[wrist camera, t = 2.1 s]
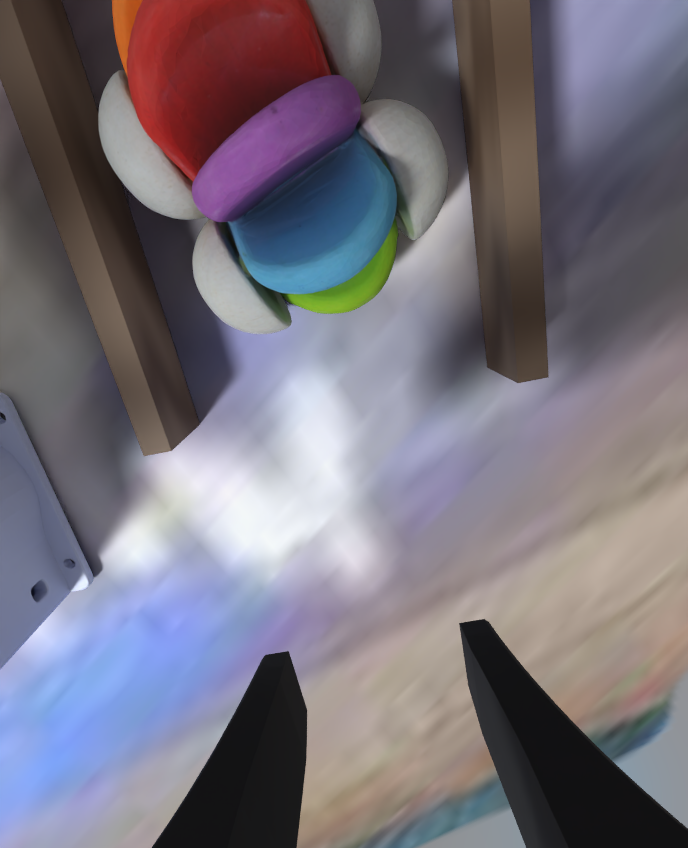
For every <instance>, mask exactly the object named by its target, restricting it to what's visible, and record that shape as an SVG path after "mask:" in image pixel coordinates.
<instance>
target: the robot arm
mask: <svg viewBox="0 0 688 848" xmlns="http://www.w3.org/2000/svg"><path fill="white" fill-rule="evenodd" d="M0 412H1V413H3V414H4V416H5V417H6V421H5V420H3V419H2V417H1V415H0V669H1V668H2V667H3V666H4V665H5V664H6V663H7V662H8V660H9V659H10V658H11V657H12V656H13V655H14V654H15V653H16V652H17V650H18V649H19V648H20V647H21V646H22V645H23V644H24V643H25V642H26V641H27V639H28V638H29V637H30V636H31V635H32V634H33V633H34V632H35V631H36V630H37V628H38V627H39V626H40V625H41V624H42V623H43V622H44V621H45V620H46V618H47V617H48V616H49V615H50V614H51V613H52V612H53V611H54V610H55V609H56V607H57V606H58V605H59V604H60V603H61V602H62V601H63V600H64V599H65V598H66V596H67V595H68V594H69V593H70V592H74V591H79V590H84V589H87V588H88V587H89V585H90V584H91V583H92V582H93V579H94V577H93V574H92V572H91V570H90V568H89V565H88V563H87V561H86V559H85V557H84V555H83V553H82V550H81V548H80V546H79V544H78V542H77V540H76V538H75V535H74V533H73V531H72V529H71V527H70V525H69V523H68V520H67V518H66V516H65V514H64V512H63V510H62V508H61V505H60V503H59V501H58V499H57V497H56V495H55V493H54V490H53V488H52V486H51V484H50V482H49V480H48V478H47V475H46V473H45V471H44V469H43V467H42V465H41V463H40V460H39V458H38V456H37V454H36V452H35V450H34V448H33V445H32V443H31V441H30V439H29V437H28V435H27V433H26V430H25V428H24V426H23V424H22V422H21V420H20V417H19V415H18V413H17V411H16V409H15V407H14V405H13V402H12V401H11V399H10V398H9V397H8V396H7V395H6V394H4V393H1V392H0ZM70 559H72V560H73V561H74V562H75V563H73V562H71V560H70ZM459 624H460V631H461V638H462V644H463V651H464V658H465V665H466V672H467V679H468V686H469V689H470V693H471V696H472V699H473V703H474V706H475V710H476V713H477V717H478V720H479V724H480V727H481V730H482V734H483V736H484V739H485V741H486V744H487V747H488V749H489V752H490V755H491V757H492V760H493V762H494V765H495V768H496V770H497V773H498V775H499V778H500V781H501V783H502V786H503V788H504V791H505V794H506V796H507V799H508V801H509V804H510V807H511V809H512V812H513V814H514V817H515V819H516V822H517V825H518V827H519V830H520V832H521V835H522V838H523V840H524V843H525V845H526V848H688V828H686V827H685V826H684V825H683V824H682V823H680V822H679V821H678V820H677V819H676V818H674V817H673V816H672V815H671V814H670V813H669V812H668V811H667V810H665V809H664V808H663V807H662V806H661V805H660V804H659V803H657V802H656V801H655V800H654V799H653V798H652V797H651V796H650V795H648V794H647V793H646V792H645V791H644V790H643V789H642V788H640V787H639V786H638V785H637V784H636V783H635V782H634V781H633V780H632V779H631V778H630V777H628V775H626V774H625V773H624V772H623V771H622V770H621V769H620V768H619V767H618V766H617V765H616V764H615V763H614V762H613V761H612V760H610V759H609V758H608V757H607V756H606V755H605V754H604V753H603V752H602V751H601V750H600V749H599V748H598V747H597V746H596V745H595V744H594V743H593V742H592V741H591V740H590V739H589V738H588V737H587V736H586V735H585V734H584V733H583V732H582V731H581V730H580V729H579V728H578V727H577V726H576V725H575V724H574V723H573V722H572V721H571V720H570V719H569V717H568V716H567V715H566V714H565V713H564V712H563V711H562V710H561V709H560V708H559V707H558V706H557V705H556V704H555V703H554V701H553V700H552V699H551V698H550V697H549V696H548V695H547V694H546V692H545V691H544V690H543V689H542V688H541V687H540V686H539V685H538V684H537V682H536V681H535V680H534V679H533V678H532V677H531V676H530V674H529V673H528V672H527V671H526V670H525V669H524V667H523V666H522V665H521V664H520V662H519V661H518V660H517V659H516V658H515V656H514V655H513V654H512V653H511V651H510V650H509V649H508V648H507V646H506V645H505V644H504V642H503V641H502V640H501V638H500V637H499V636H498V634H497V633H496V632H495V630H494V629H493V627H492V626H491V624H490V623H489V622H488V621H486V620H485V619H482V620H476V621H470V622H464V623H459ZM306 747H307V708H306V705H305V702H304V699H303V696H302V692H301V689H300V686H299V683H298V680H297V676H296V673H295V670H294V667H293V664H292V660H291V657H290V654H289V651H287V652H281V653H275V654H269V655H265V656H264V658H263V659H262V661H261V663H260V665H259V667H258V669H257V671H256V673H255V675H254V677H253V679H252V681H251V683H250V685H249V686H248V688H247V690H246V692H245V694H244V696H243V698H242V700H241V702H240V704H239V706H238V708H237V709H236V711H235V713H234V715H233V717H232V719H231V721H230V722H229V724H228V726H227V728H226V730H225V731H224V733H223V735H222V737H221V739H220V740H219V742H218V744H217V746H216V747H215V749H214V751H213V753H212V754H211V756H210V758H209V759H208V761H207V763H206V764H205V766H204V768H203V769H202V771H201V773H200V774H199V776H198V778H197V779H196V781H195V782H194V784H193V786H192V787H191V789H190V791H189V792H188V794H187V796H186V797H185V799H184V800H183V802H182V803H181V805H180V806H179V808H178V810H177V811H176V813H175V814H174V816H173V817H172V819H171V820H170V822H169V823H168V825H167V826H166V828H165V829H164V831H163V832H162V833H161V835H160V836H159V838H158V839H157V841H156V842H155V844H154V845H153V847H152V848H296V846H297V838H298V829H299V820H300V811H301V803H302V794H303V784H304V775H305V766H306Z"/></svg>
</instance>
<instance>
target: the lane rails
mask: <svg viewBox="0 0 688 848" xmlns="http://www.w3.org/2000/svg"><path fill="white" fill-rule="evenodd" d="M452 3H453V13H454V24H455V34H456V45H457V55H458V66H459V76H460V87H461V97H462V108H463V118H464V128H465V139H466V149H467V160H468V170H469V181H470V191H471V202H472V212H473V223H474V233H475V244H476V254H477V265H478V275H479V286H480V296H481V307H482V317H483V328H484V338H485V349H486V359H487V367H488V368H490V369H492V370H493V371H495V372H497V373H499V374H501V375H503V376H505V377H507V378H509V379H511V380H513V381H515V382H517V383H521V382H526V381H531V380H536V379H542V378H547V377H548V358H547V338H546V318H545V298H544V278H543V257H542V237H541V217H540V197H539V177H538V157H537V136H536V116H535V96H534V76H533V56H532V35H531V15H530V0H452ZM0 79H1V82H2V84H3V87H4V89H5V92H6V95H7V97H8V100H9V103H10V105H11V108H12V110H13V113H14V116H15V118H16V121H17V124H18V126H19V129H20V131H21V134H22V137H23V139H24V142H25V145H26V147H27V150H28V153H29V155H30V158H31V160H32V163H33V166H34V168H35V171H36V174H37V176H38V179H39V181H40V184H41V187H42V189H43V192H44V195H45V197H46V200H47V202H48V205H49V208H50V210H51V213H52V216H53V218H54V221H55V224H56V226H57V229H58V231H59V234H60V237H61V239H62V242H63V245H64V247H65V250H66V252H67V255H68V258H69V260H70V263H71V266H72V268H73V271H74V273H75V276H76V279H77V281H78V284H79V287H80V289H81V292H82V295H83V297H84V300H85V302H86V305H87V308H88V310H89V313H90V316H91V318H92V321H93V323H94V326H95V329H96V331H97V334H98V337H99V339H100V342H101V344H102V347H103V350H104V352H105V355H106V358H107V360H108V363H109V366H110V368H111V371H112V373H113V376H114V379H115V381H116V384H117V387H118V389H119V392H120V394H121V397H122V400H123V402H124V405H125V408H126V410H127V413H128V415H129V418H130V421H131V423H132V426H133V429H134V431H135V434H136V437H137V439H138V442H139V444H140V447H141V450H142V452H143V455H144V456H147V455H152V454H158V453H163V452H168V451H172V450H173V449H174V448H175V447H176V446H177V445H178V444H179V443H180V442H181V441H182V440H184V439H185V438H186V437H187V436H188V435H189V434H190V433H191V432H192V431H193V430H194V429H195V428H196V427H198V426H199V425H200V423H199V420H198V417H197V414H196V411H195V408H194V405H193V402H192V399H191V396H190V392H189V389H188V386H187V383H186V380H185V377H184V374H183V371H182V368H181V365H180V362H179V359H178V356H177V353H176V350H175V347H174V343H173V340H172V337H171V334H170V331H169V328H168V325H167V322H166V319H165V316H164V313H163V310H162V307H161V304H160V301H159V298H158V294H157V291H156V288H155V285H154V282H153V279H152V276H151V273H150V270H149V267H148V264H147V261H146V258H145V255H144V252H143V249H142V245H141V242H140V239H139V236H138V233H137V230H136V227H135V224H134V221H133V218H132V215H131V212H130V209H129V206H128V203H127V200H126V196H125V193H124V190H123V187H122V184H121V181H120V179H119V177H118V176H117V174H116V173H115V172H114V170H113V168H112V167H111V165H110V163H109V162H108V160H107V157H106V155H105V153H104V150H103V147H102V144H101V139H100V134H99V125H98V111H97V108H96V105H95V102H94V99H93V95H92V92H91V89H90V86H89V83H88V80H87V77H86V74H85V71H84V68H83V65H82V62H81V59H80V56H79V53H78V50H77V46H76V43H75V40H74V37H73V34H72V31H71V28H70V25H69V22H68V19H67V16H66V13H65V10H64V7H63V4H62V1H61V0H0Z"/></svg>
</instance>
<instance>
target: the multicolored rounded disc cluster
mask: <svg viewBox="0 0 688 848" xmlns="http://www.w3.org/2000/svg"><path fill="white" fill-rule="evenodd" d="M112 14H113V24H114V31H115V38H116V43H117V46H118V50H119V54H120V57H121V61H122V64H123V67H124V70H125V71H122V70H118V71H117V72H116V73H114V74H113V75H112V77H111V78H110V80H109V81H108V83H107V85H106V87H105V89H104V91H103V94H102V97H101V101H100V104H99V114H98V125H99V134H100V139H101V144H102V147H103V150H104V153H105V155H106V157H107V160H108V162H109V163H110V165H111V167H112V168H113V170H114V172H115V173H116V174H117V176H118V177H119V179H120V180H121V181H122V182H123V184H124V185H125V186H126V187H127V189H128V190H129V191H130V192H131V193H132V194H133V195H134V196H135V197H136V198H137V199H138V200H139V201H140V202H141V203H142V204H144V205H145V206H146V207H148V208H150V209H151V210H153V211H155V212H157V213H160V214H162V215H164V216H168V217H171V218H175V219H185V220H190V219H200V218H203V217H208V218H210V219H209V220H208V221H207V222H206V224H205V225H204V226H203V228H202V230H201V231H200V233H199V235H198V238H197V240H196V243H195V247H194V252H193V262H192V263H193V274H194V279H195V282H196V285H197V288H198V290H199V292H200V294H201V295H202V297H203V299H204V300H205V302H206V303H207V305H208V306H209V307H210V309H211V310H212V311H213V312H214V313H215V314H216V315H217V316H218V317H219V318H220V319H221V320H222V321H223V322H224V323H226V324H228V325H229V326H231V327H233V328H235V329H238V330H240V331H243V332H247V333H252V334H270V333H275V332H278V331H281V330H284V329H286V328H288V327H289V326H290V325H291V322H292V321H291V316H290V313H289V310H288V307H287V305H286V303H285V301H284V299H285V300H287V301H288V302H289V303H291V304H294V305H297V306H299V307H302V308H304V309H307V310H310V311H313V312H317V313H324V314H333V313H344V312H349V311H352V310H355V309H357V308H359V307H361V306H362V305H364V304H365V303H367V302H369V301H370V300H371V299H373V298H374V297H375V296H376V295H377V294H378V293H379V292H380V290H381V289H382V287H383V286H384V284H385V283H386V281H387V279H388V277H389V275H390V272H391V270H392V266H393V263H394V259H395V255H396V246H397V237H398V228H397V226H398V227H399V229H400V230H401V231H402V232H403V233H404V234H405V235H406V236H407V237H408V238H410V239H412V240H416V239H418V238H420V237H421V236H422V235H423V234H424V233H425V232H426V231H427V230H428V228H429V227H430V226H431V225H432V223H433V222H434V220H435V219H436V217H437V215H438V214H439V212H440V209H441V207H442V205H443V202H444V199H445V195H446V191H447V186H448V176H449V175H448V163H447V158H446V154H445V151H444V147H443V145H442V142H441V139H440V137H439V135H438V133H437V131H436V129H435V128H434V126H433V124H432V123H431V121H430V120H429V119H428V118H427V117H426V116H425V115H424V114H423V113H422V112H421V111H419V110H418V109H417V108H415V107H414V106H411V105H409V104H407V103H405V102H402V101H399V100H392V99H378V100H373V101H369V102H366V103H365V101H366V99H367V98H368V96H369V94H370V92H371V90H372V88H373V85H374V83H375V80H376V77H377V73H378V69H379V65H380V59H381V48H382V41H381V30H380V24H379V19H378V15H377V11H376V8H375V4H374V1H373V0H112ZM283 298H284V299H283Z"/></svg>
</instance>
